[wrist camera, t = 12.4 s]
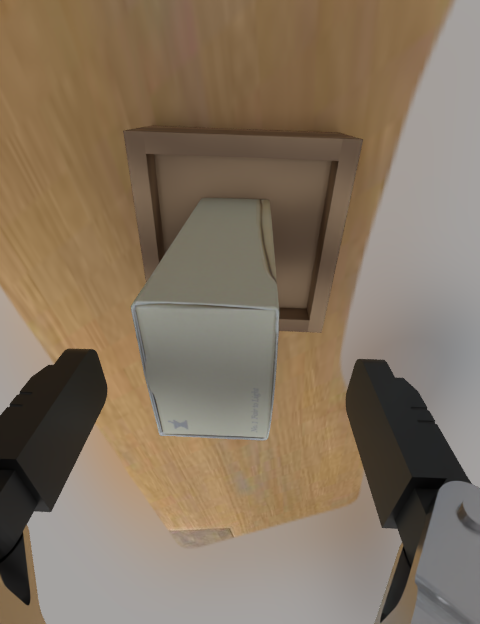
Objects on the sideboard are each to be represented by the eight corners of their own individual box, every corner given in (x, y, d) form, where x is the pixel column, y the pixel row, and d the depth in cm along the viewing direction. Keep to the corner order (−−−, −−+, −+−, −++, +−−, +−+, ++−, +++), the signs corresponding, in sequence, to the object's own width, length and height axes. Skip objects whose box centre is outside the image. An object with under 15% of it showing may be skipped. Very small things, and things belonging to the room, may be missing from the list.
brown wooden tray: (152, 125, 20) (123, 130, 16) (337, 132, 20) (363, 139, 16) (169, 287, 27) (152, 325, 22) (309, 293, 27) (321, 332, 22)
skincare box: (264, 287, 22) (272, 445, 12) (201, 285, 22) (157, 441, 12) (270, 194, 18) (288, 309, 8) (195, 193, 19) (125, 304, 9)
